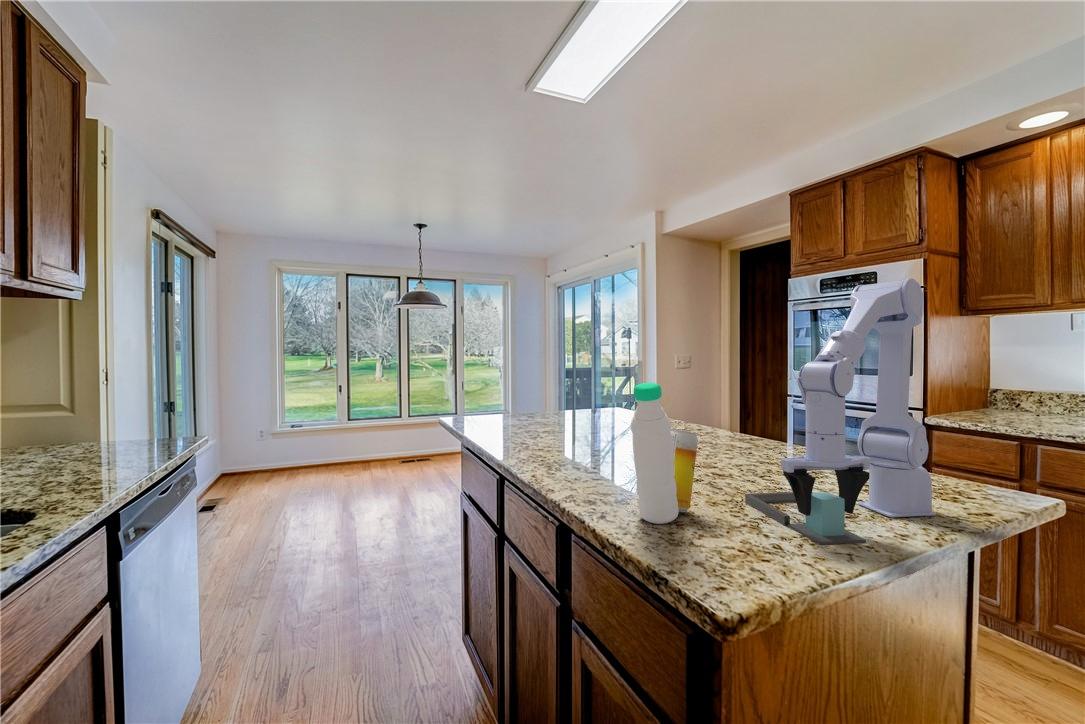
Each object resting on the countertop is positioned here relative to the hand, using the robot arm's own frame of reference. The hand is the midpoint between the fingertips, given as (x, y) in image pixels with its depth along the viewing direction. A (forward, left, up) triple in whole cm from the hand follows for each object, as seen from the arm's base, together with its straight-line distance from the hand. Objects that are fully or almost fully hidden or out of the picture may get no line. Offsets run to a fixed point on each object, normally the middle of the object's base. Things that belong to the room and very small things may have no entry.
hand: (825, 512), depth 78 cm
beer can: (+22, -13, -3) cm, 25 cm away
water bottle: (+25, -10, -3) cm, 27 cm away
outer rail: (-2, -11, -4) cm, 12 cm away
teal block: (0, 0, -3) cm, 3 cm away
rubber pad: (0, 0, -4) cm, 4 cm away
